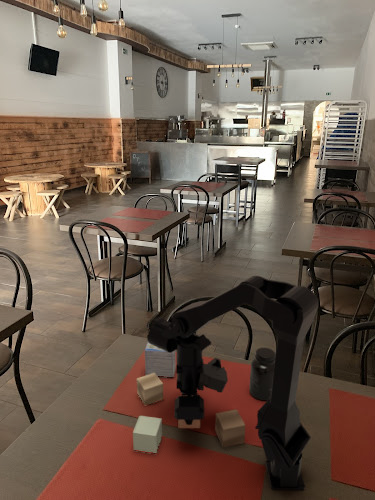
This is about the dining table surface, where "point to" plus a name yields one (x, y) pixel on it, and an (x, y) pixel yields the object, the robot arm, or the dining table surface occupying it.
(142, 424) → the sage painted block
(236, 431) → the walnut block
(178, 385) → the robot arm
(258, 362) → the supplement bottle
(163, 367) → the medicine box
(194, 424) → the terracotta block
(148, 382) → the maple block
